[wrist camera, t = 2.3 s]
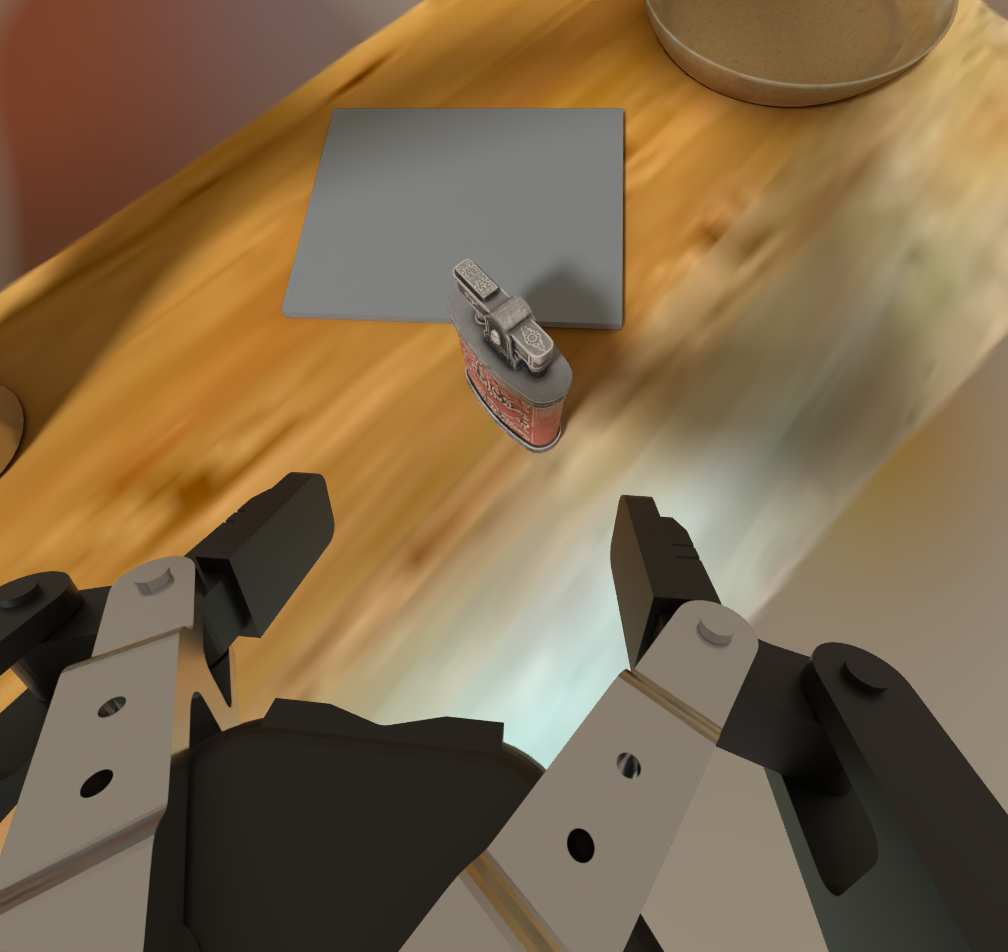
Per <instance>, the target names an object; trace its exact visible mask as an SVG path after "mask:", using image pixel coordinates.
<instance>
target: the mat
mask: <svg viewBox="0 0 1008 952" xmlns="http://www.w3.org/2000/svg"><path fill="white" fill-rule="evenodd" d="M466 259H469V260H472V261H474V262H475V263H476V264H477V265H478V266H479V267H480V268H481V269H482V270H483V271H484V272H485V273H486V274H487V275H488V276H489V277H490V278H491V279H492V280H493V281H494V282H495V283H496V284H497V285H498V286H499V287H500V288H501V289H502V290H503V291H504V292H505V293H506V294H507V295H508V296H509V297H511V296H515V295H519V296H521V297H522V298H523V299H524V300H525V301H526V302H527V303H528V304H529V306H530V307H531V309H532V312H533V315H534V317H535V318H536V320H537V323H538V324H539V325H540V326H541V327H561V328H588V329H615V330H620V329H621V326H622V270H623V108H334V109H333V113H332V117H331V121H330V125H329V129H328V133H327V136H326V140H325V144H324V148H323V152H322V156H321V160H320V163H319V167H318V171H317V175H316V179H315V183H314V187H313V191H312V194H311V198H310V202H309V206H308V210H307V214H306V218H305V222H304V225H303V229H302V233H301V237H300V241H299V245H298V249H297V252H296V256H295V260H294V264H293V268H292V272H291V276H290V280H289V283H288V287H287V291H286V295H285V299H284V303H283V307H282V310H281V312H282V313H283V315H284V316H285V317H292V318H319V319H346V320H373V321H399V322H426V323H452V322H451V320H450V316H449V313H448V309H447V300H448V298H449V296H450V294H451V292H452V291H453V290H454V289H456V284H455V280H454V275H453V269H454V268H455V267H456V266H457V265H458V264H459V263H461V262H462V261H464V260H466Z"/></svg>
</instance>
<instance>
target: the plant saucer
mask: <svg viewBox="0 0 1008 952" xmlns="http://www.w3.org/2000/svg"><path fill="white" fill-rule="evenodd" d="M644 2H645V6H646V11H647V14H648V17H649V20H650V23H651V25H652V28H653V30H654V32H655V34H656V36H657V38H658V40H659V41H660V43H661V45H662V46H663V48H664V49H665V50H666V52H667V53H668V54H669V56H670V57H671V58H672V59H673V60H674V61H675V63H676V64H677V65H678V66H679V67H681V68H682V69H683V70H684V71H685V72H686V73H687V74H689V75H690V76H691V77H693V78H694V79H695V80H697V81H698V82H700V83H701V84H703V85H705V86H707V87H709V88H710V89H712V90H714V91H716V92H719V93H721V94H724V95H726V96H729V97H732V98H735V99H738V100H742V101H746V102H750V103H755V104H761V105H768V106H781V107H798V106H809V105H817V104H823V103H828V102H833V101H837V100H841V99H845V98H848V97H851V96H854V95H857V94H860V93H862V92H865V91H867V90H870V89H872V88H874V87H877V86H879V85H881V84H883V83H885V82H887V81H889V80H890V79H892V78H894V77H896V76H897V75H899V74H900V73H902V72H904V71H905V70H907V69H908V68H910V67H911V66H912V65H914V64H915V63H917V62H918V61H919V60H920V59H921V58H923V57H924V56H925V55H926V54H927V53H929V52H930V51H931V50H932V49H933V48H934V47H935V46H936V45H937V44H938V43H939V42H940V41H941V40H942V39H943V37H944V36H945V35H946V34H947V32H948V30H949V29H950V27H951V25H952V23H953V21H954V18H955V15H956V12H957V8H958V0H644Z"/></svg>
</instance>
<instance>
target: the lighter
mask: <svg viewBox="0 0 1008 952" xmlns="http://www.w3.org/2000/svg"><path fill="white" fill-rule="evenodd" d="M453 275H454V280H455V284H456V289H454V290H453V291H452V292H451V294H450V296H449V298H448V300H447V309H448V313H449V316H450V320H451V322H452V324H453V326H454V327H455V329H456V331H457V332H458V336H459V340H460V344H461V347H462V351H463V355H464V359H465V362H466V370H465V374H466V378H467V381H468V384H469V386H470V388H471V389H472V391H473V393H474V395H475V396H476V398H477V400H478V402H479V403H480V404H481V406H482V407H483V408H484V410H485V411H486V412H487V414H488V415H489V416H490V418H491V419H492V420H493V421H494V422H495V423H496V424H497V425H498V426H499V427H500V428H501V429H502V430H503V431H504V432H505V433H506V434H507V435H508V436H509V437H511V438H512V439H513V440H514V441H516V442H517V443H518V444H520V445H521V446H522V447H524V448H525V449H526V450H528V451H530V452H532V453H537V454H541V453H545V452H547V451H549V450H551V449H553V447H554V446H555V445H556V444H557V443H558V440H559V438H560V434H561V425H560V419H561V414H562V409H563V404H564V399H565V398H566V396H567V395H568V393H569V390H570V388H571V384H572V374H573V373H572V370H571V367H570V365H569V364H568V362H567V361H566V359H565V358H564V356H563V355H562V353H561V352H560V350H559V349H558V347H557V346H556V344H555V343H554V341H553V340H552V339H551V338H550V337H549V335H548V334H547V333H546V332H545V331H544V330H543V328H542V327H541V326H540V325H539V324H538V323H537V320H536V318H535V317H534V315H533V312H532V309H531V307H530V306H529V304H528V303H527V302H526V301H525V300H524V299H523V298H522V297H521V296H519V295H515V296H511V297H509V296H508V295H507V294H506V293H505V292H504V291H503V290H502V289H501V288H500V287H499V286H498V285H497V284H496V283H495V282H494V281H493V280H492V279H491V278H490V277H489V276H488V275H487V274H486V273H485V272H484V271H483V270H482V269H481V268H480V267H479V266H478V265H477V264H476V263H475V262H474V261H472V260H469V259H466V260H464V261H462V262H461V263H459V264H458V265H457V266H456V267H455V268H454V269H453Z"/></svg>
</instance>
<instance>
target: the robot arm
mask: <svg viewBox="0 0 1008 952" xmlns="http://www.w3.org/2000/svg"><path fill="white" fill-rule="evenodd" d="M23 423H24V418H23V411H22V407H21V405H20V403H19V401H18V398H17V397H16V396H15V395H14V394H13V393H12V392H11V391H10V390H9V389H7V388H5V387H4V386H2V385H0V473H1V472H2V471H3V470H4V469H5V467H6V466H7V464H8V463H9V462H10V460H11V459H12V457H13V455H14V453H15V451H16V450H17V448H18V446H19V443H20V439H21V436H22V433H23ZM333 533H334V518H333V513H332V509H331V504H330V500H329V495H328V491H327V486H326V482H325V479H324V477H323V476H322V475H321V474H315V473H300V472H291V473H289V474H287V475H286V476H285V477H284V478H283V479H282V480H281V481H280V482H278V483H277V484H276V485H275V486H274V487H273V488H272V489H269V490H267V491H265V492H263V493H261V494H259V495H257V496H255V497H253V498H251V499H250V500H249V501H248V502H246V503H245V504H244V505H243V506H242V507H241V508H239V509H238V512H237V513H234V514H232V515H231V516H230V517H229V518H228V519H227V520H226V523H222V524H221V525H220V526H218V527H217V528H216V529H215V530H214V531H213V532H212V533H210V534H209V535H208V536H207V537H206V538H205V539H203V540H202V541H201V542H200V543H199V544H198V545H196V546H195V547H194V548H193V549H192V550H191V551H189V552H188V553H187V554H186V555H185V556H184V557H181V556H172V557H164V558H160V559H156V560H153V561H150V562H147V563H144V564H142V565H140V566H138V567H136V568H134V569H132V570H130V571H129V572H127V573H126V574H124V575H123V576H122V577H120V578H119V579H118V580H117V581H116V582H115V583H114V584H113V586H107V587H100V588H92V589H85V590H78V589H77V587H76V586H75V584H74V583H73V581H72V580H71V578H70V577H69V575H68V574H66V573H63V572H58V571H49V572H42V573H36V574H32V575H29V576H25V577H22V578H19V579H16V580H14V581H11V582H9V583H7V584H4V585H2V586H0V675H2V674H3V673H4V672H5V671H6V670H8V669H9V668H11V669H12V670H13V672H14V673H15V674H16V675H17V676H18V677H19V678H20V679H21V681H22V682H23V683H24V684H25V685H26V686H27V687H28V689H26V690H25V691H24V692H23V693H22V694H21V695H20V696H19V697H18V698H17V699H15V700H14V701H13V702H12V703H11V704H10V705H9V706H8V707H7V708H6V709H4V710H3V711H2V712H1V713H0V823H1V821H2V820H3V819H4V818H5V817H6V816H7V815H8V814H9V812H10V811H11V810H12V809H13V808H14V807H15V806H16V805H17V806H16V810H15V813H14V816H13V819H12V822H11V825H10V828H9V831H8V834H7V837H6V840H5V843H4V846H3V849H2V852H1V855H0V952H664V951H663V949H662V948H661V946H660V944H659V943H658V941H657V939H656V938H655V936H654V935H653V933H652V931H651V930H650V928H649V927H648V925H647V923H646V922H645V920H644V918H643V917H642V915H641V914H640V913H641V910H642V908H643V906H644V904H645V901H646V899H647V897H648V895H649V893H650V890H651V888H652V886H653V884H654V882H655V879H656V877H657V875H658V873H659V870H660V868H661V866H662V864H663V862H664V859H665V857H666V855H667V853H668V850H669V848H670V846H671V844H672V842H673V839H674V837H675V835H676V833H677V830H678V828H679V826H680V824H681V822H682V819H683V817H684V815H685V813H686V810H687V808H688V806H689V804H690V802H691V799H692V797H693V794H694V792H695V790H696V788H697V786H698V784H699V782H700V779H701V777H702V775H703V773H704V770H705V768H706V766H707V764H708V762H709V759H710V757H711V755H712V753H713V750H714V748H715V746H717V747H719V748H722V749H724V750H726V751H728V752H731V753H733V754H735V755H738V756H740V757H742V758H745V759H747V760H749V761H752V762H754V763H756V764H759V765H761V766H763V767H764V769H765V772H766V775H767V778H768V781H769V783H770V786H771V789H772V792H773V795H774V798H775V800H776V803H777V806H778V809H779V812H780V814H781V818H782V820H783V823H784V826H785V829H786V832H787V835H788V837H789V840H790V843H791V846H792V849H793V852H794V854H795V857H796V860H797V863H798V866H799V869H800V871H801V874H802V877H803V880H804V883H805V886H806V888H807V891H808V894H809V897H810V900H811V903H812V905H813V908H814V911H815V914H816V917H817V919H818V923H819V925H820V928H821V931H822V934H823V937H824V940H825V942H826V945H827V948H828V951H829V952H1008V815H1007V813H1006V812H1005V811H1004V809H1003V808H1002V807H1001V805H1000V804H999V803H998V801H997V800H996V799H995V797H994V796H993V795H992V793H991V792H990V791H989V789H988V788H987V787H986V785H985V784H984V783H983V781H982V780H981V779H980V777H979V776H978V775H977V773H976V772H975V771H974V769H973V768H972V767H971V765H970V764H969V763H968V761H967V760H966V759H965V757H964V756H963V754H962V753H961V752H960V750H959V749H958V748H957V746H956V745H955V744H954V742H953V741H952V740H951V739H950V737H949V736H948V735H947V733H946V732H945V731H944V729H943V728H942V727H941V725H940V724H939V722H938V721H937V720H936V718H935V717H934V716H933V714H932V713H931V712H930V711H929V709H928V708H927V706H926V705H925V704H924V703H923V701H922V700H921V698H920V697H919V696H918V695H917V693H916V692H915V690H914V689H913V688H912V686H911V685H910V684H909V683H908V682H907V681H906V679H905V678H904V677H903V676H902V675H901V674H900V673H899V672H898V671H897V670H895V669H894V668H893V667H892V666H890V665H889V664H888V663H886V662H885V661H883V660H882V659H880V658H878V657H877V656H875V655H873V654H871V653H869V652H867V651H865V650H863V649H860V648H858V647H855V646H852V645H848V644H843V643H836V642H831V643H824V644H821V645H819V646H818V647H817V648H816V649H815V650H814V651H813V653H812V655H811V657H808V656H805V655H802V654H799V653H795V652H793V651H790V650H786V649H783V648H781V647H777V646H774V645H772V644H769V643H766V642H764V641H762V640H760V639H758V638H757V636H756V634H755V632H754V630H753V629H752V627H751V626H750V625H749V623H748V622H747V621H746V620H745V619H744V618H742V617H741V616H740V615H739V614H737V613H736V612H734V611H733V610H731V609H729V608H727V607H725V606H723V605H722V604H721V602H720V600H719V597H718V595H717V593H716V591H715V589H714V587H713V585H712V583H711V581H710V579H709V576H708V574H707V572H706V570H705V568H704V566H703V564H702V562H701V561H699V555H698V553H697V551H696V549H695V548H694V547H693V546H694V545H693V543H692V541H691V539H690V537H689V534H688V532H687V530H685V529H684V528H683V527H682V526H681V525H680V524H679V523H678V522H677V521H676V520H674V519H673V518H671V517H660V515H659V512H658V510H657V507H656V505H655V502H654V500H653V498H652V497H646V496H631V495H622V496H621V497H620V500H619V504H618V510H617V515H616V520H615V526H614V531H613V536H612V542H611V551H610V560H611V569H612V574H613V579H614V584H615V590H616V595H617V600H618V605H619V611H620V616H621V621H622V626H623V632H624V637H625V642H626V647H627V653H628V658H629V663H630V668H631V672H630V671H629V670H628V669H625V670H623V671H622V672H621V673H620V674H619V675H618V676H617V678H616V679H615V680H614V681H613V683H612V684H611V685H610V687H609V688H608V689H607V691H606V692H605V693H604V695H603V696H602V697H601V699H600V700H599V701H598V703H597V704H596V705H595V707H594V708H593V709H592V711H591V712H590V713H589V715H588V716H587V717H586V719H585V720H584V721H583V723H582V724H581V725H580V727H579V728H578V729H577V730H576V732H575V733H574V734H573V736H572V737H571V738H570V740H569V741H568V742H567V744H566V745H565V746H564V748H563V749H562V750H561V752H560V753H559V754H558V756H557V757H556V758H555V760H554V761H553V762H552V764H551V765H550V766H549V768H548V769H547V770H546V769H545V768H544V767H543V766H542V765H541V764H540V763H538V762H537V761H536V760H535V759H533V758H532V757H531V756H529V755H528V754H526V753H525V752H523V751H521V750H519V749H518V748H516V747H514V746H512V745H509V744H507V743H505V742H503V734H504V723H502V722H492V721H483V720H474V719H465V718H456V717H439V718H433V719H426V720H420V721H413V722H407V723H400V724H394V725H385V726H384V725H378V724H376V723H373V722H371V721H369V720H366V719H364V718H362V717H359V716H357V715H355V714H352V713H350V712H348V711H345V710H343V709H341V708H338V707H336V706H334V705H332V704H327V703H317V702H308V701H299V700H290V699H281V698H275V700H274V702H273V703H272V705H271V707H270V708H269V710H268V712H267V713H266V715H265V717H264V718H260V719H256V720H252V721H249V722H245V723H242V724H240V718H239V706H238V691H237V676H236V661H235V652H234V649H233V647H232V645H231V644H232V643H233V642H234V640H235V639H236V638H237V637H238V636H246V637H256V638H261V637H262V635H263V634H264V632H265V631H266V630H267V628H268V627H269V626H270V624H271V623H272V621H273V620H274V619H275V617H276V616H277V615H278V613H279V612H280V611H281V609H282V608H283V606H284V605H285V604H286V602H287V601H288V600H289V598H290V597H291V595H292V594H293V593H294V591H295V590H296V589H297V587H298V586H299V584H300V583H301V582H302V580H303V579H304V578H305V576H306V575H307V573H308V572H309V571H310V569H311V568H312V567H313V565H314V564H315V563H316V561H317V560H318V558H319V557H320V556H321V554H322V553H323V552H324V550H325V549H326V547H327V546H328V545H329V543H330V542H331V540H332V537H333Z"/></svg>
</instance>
